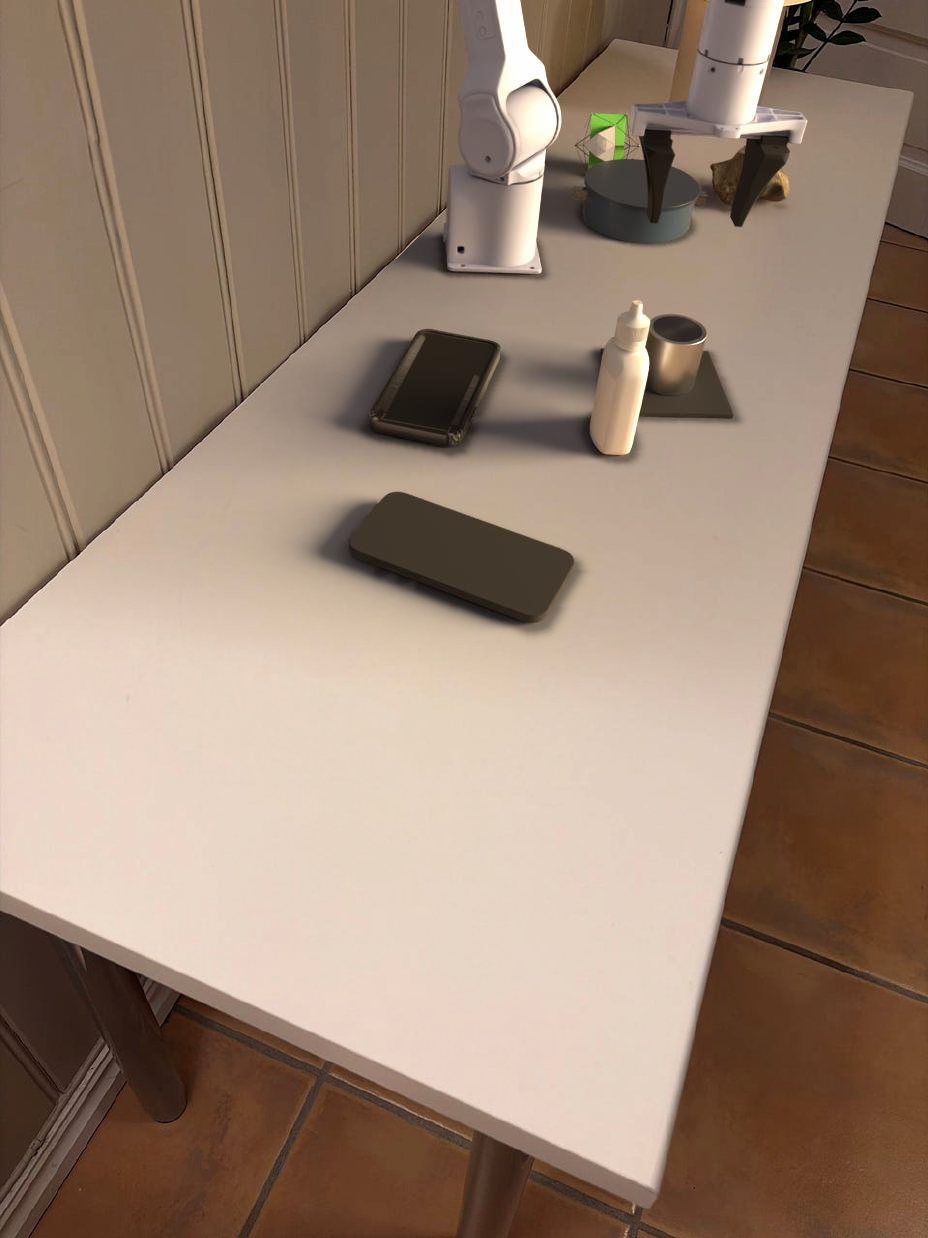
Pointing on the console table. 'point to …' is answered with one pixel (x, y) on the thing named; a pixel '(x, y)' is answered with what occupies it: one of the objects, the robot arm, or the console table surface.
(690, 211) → the grey cooking pot
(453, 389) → the phone
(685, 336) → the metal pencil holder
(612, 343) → the eye dropper bottle
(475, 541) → the phone
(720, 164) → the fossilized seashell
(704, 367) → the mat
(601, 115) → the geometric puzzle
